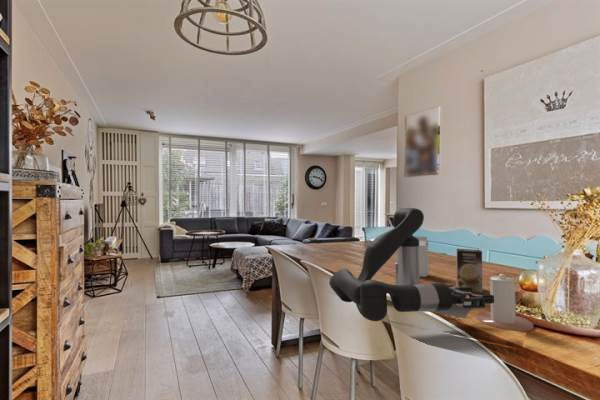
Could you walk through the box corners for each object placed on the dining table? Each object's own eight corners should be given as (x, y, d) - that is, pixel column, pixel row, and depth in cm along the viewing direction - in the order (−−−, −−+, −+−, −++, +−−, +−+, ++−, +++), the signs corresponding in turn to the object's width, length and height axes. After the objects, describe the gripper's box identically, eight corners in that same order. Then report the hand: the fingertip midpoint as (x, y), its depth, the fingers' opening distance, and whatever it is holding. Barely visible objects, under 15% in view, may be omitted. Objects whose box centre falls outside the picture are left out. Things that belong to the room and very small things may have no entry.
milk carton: (426, 277, 151) (425, 237, 151) (410, 275, 155) (410, 236, 155) (428, 274, 157) (428, 236, 157) (414, 273, 161) (413, 235, 161)
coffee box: (456, 290, 128) (456, 250, 128) (456, 286, 133) (455, 248, 134) (483, 292, 124) (482, 251, 124) (481, 288, 130) (480, 249, 130)
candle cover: (489, 320, 92) (488, 274, 92) (492, 314, 96) (491, 270, 97) (515, 325, 88) (514, 277, 88) (516, 318, 93) (515, 273, 93)
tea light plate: (472, 324, 91) (472, 313, 91) (479, 311, 102) (479, 301, 102) (533, 336, 82) (533, 324, 82) (533, 320, 94) (533, 309, 94)
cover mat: (426, 312, 101) (426, 310, 101) (435, 303, 110) (435, 302, 110) (465, 319, 95) (465, 317, 95) (470, 309, 104) (470, 308, 104)
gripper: (416, 302, 95) (465, 300, 98) (445, 319, 81) (501, 316, 84) (416, 277, 95) (465, 276, 98) (444, 290, 81) (501, 287, 84)
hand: (482, 294), depth 91 cm, fingers open, 8 cm apart
